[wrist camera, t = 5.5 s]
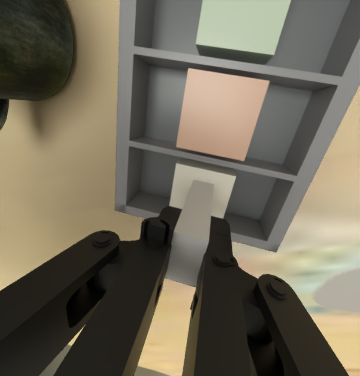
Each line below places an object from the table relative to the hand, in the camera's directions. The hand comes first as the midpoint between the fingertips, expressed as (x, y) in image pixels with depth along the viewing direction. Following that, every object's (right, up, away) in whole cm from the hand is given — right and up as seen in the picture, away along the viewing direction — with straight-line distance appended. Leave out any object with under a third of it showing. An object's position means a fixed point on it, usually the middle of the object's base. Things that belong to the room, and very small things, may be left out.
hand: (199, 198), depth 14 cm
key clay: (+1, +6, -1) cm, 6 cm away
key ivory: (0, +1, +2) cm, 3 cm away
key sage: (+2, +11, -2) cm, 12 cm away
